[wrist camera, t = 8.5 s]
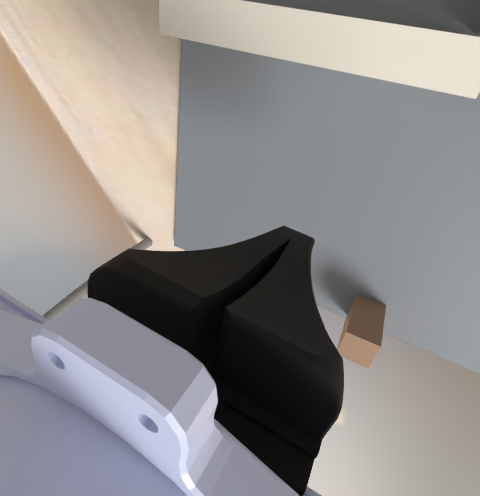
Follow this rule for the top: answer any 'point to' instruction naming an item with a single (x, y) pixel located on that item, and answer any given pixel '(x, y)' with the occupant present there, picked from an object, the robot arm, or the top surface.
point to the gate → (331, 42)
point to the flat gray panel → (344, 180)
